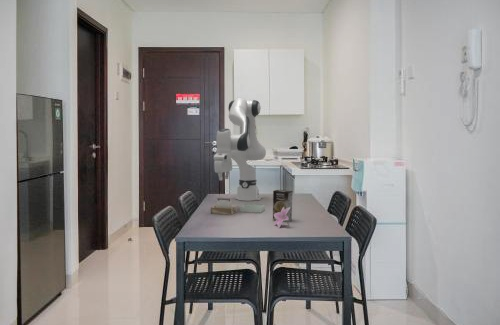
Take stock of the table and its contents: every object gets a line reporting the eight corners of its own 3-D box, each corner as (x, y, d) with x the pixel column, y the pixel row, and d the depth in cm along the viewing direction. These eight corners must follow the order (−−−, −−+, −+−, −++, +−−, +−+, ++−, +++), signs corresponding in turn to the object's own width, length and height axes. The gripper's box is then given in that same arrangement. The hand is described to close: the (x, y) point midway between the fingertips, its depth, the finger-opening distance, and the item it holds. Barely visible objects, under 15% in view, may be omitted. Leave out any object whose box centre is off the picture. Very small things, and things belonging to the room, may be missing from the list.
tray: (245, 209, 259) (245, 204, 259) (264, 210, 256) (264, 205, 256) (240, 211, 250) (240, 207, 250) (260, 213, 246) (260, 208, 246)
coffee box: (272, 220, 226) (272, 190, 225) (277, 218, 232) (277, 189, 231) (287, 221, 222) (288, 191, 221) (292, 219, 228) (292, 190, 226)
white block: (219, 211, 251) (219, 197, 251) (231, 212, 249) (231, 198, 248) (216, 213, 247) (216, 198, 246) (228, 213, 244) (228, 199, 244)
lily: (274, 224, 220) (267, 210, 217) (295, 216, 219) (288, 201, 216) (277, 236, 209) (270, 221, 206) (299, 228, 208) (292, 212, 204)
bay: (217, 210, 254) (217, 204, 254) (236, 211, 250) (236, 205, 250) (210, 213, 245) (210, 207, 244) (230, 214, 241) (230, 208, 241)
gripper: (225, 155, 256) (225, 177, 257) (212, 156, 237) (212, 181, 238) (234, 155, 254) (234, 178, 255) (222, 156, 235) (222, 181, 236)
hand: (223, 179), depth 246 cm, fingers open, 8 cm apart
